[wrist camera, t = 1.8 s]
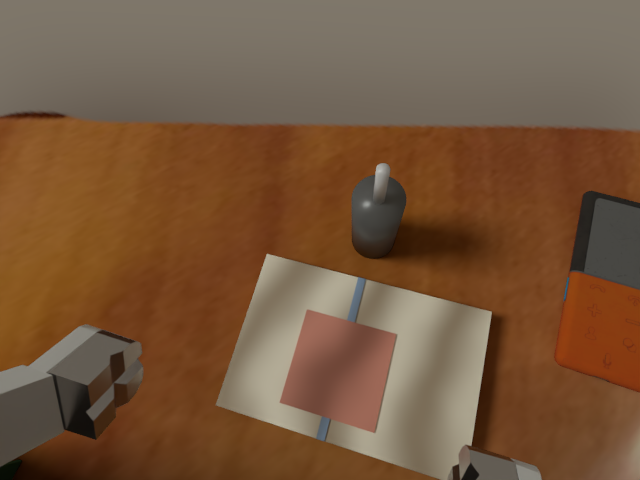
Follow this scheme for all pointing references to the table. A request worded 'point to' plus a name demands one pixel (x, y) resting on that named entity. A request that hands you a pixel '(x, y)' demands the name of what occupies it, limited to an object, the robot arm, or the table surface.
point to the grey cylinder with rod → (376, 213)
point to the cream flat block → (360, 365)
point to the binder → (9, 470)
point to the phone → (603, 293)
